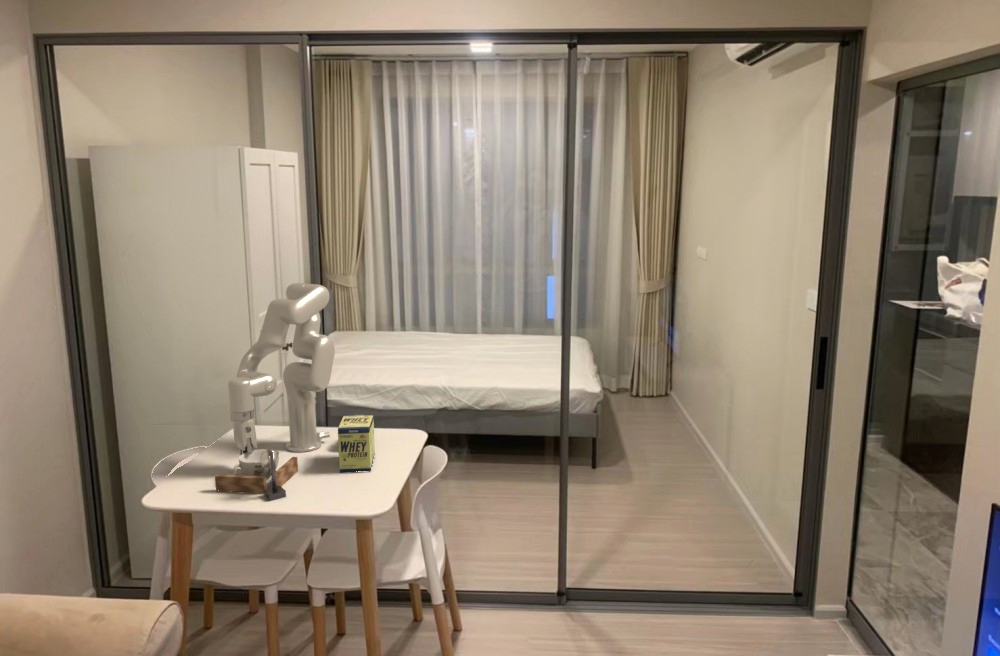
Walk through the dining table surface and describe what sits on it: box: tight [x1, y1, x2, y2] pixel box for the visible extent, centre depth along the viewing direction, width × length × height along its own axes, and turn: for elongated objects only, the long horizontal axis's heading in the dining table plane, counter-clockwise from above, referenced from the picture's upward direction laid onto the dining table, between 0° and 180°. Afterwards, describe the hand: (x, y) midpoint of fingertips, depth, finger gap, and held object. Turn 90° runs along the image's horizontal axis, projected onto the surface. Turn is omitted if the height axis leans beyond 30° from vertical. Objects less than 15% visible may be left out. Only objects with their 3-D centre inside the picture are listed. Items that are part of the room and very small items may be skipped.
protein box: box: [337, 413, 376, 474], centre depth 243 cm, size 10×16×16 cm
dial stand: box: [260, 449, 287, 502], centre depth 218 cm, size 5×6×14 cm
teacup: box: [233, 448, 280, 481], centre depth 231 cm, size 15×12×8 cm
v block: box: [214, 456, 299, 495], centre depth 226 cm, size 27×12×5 cm, turn 127°
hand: (246, 467), depth 239 cm, fingers closed
